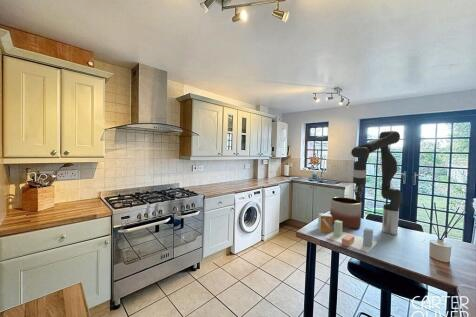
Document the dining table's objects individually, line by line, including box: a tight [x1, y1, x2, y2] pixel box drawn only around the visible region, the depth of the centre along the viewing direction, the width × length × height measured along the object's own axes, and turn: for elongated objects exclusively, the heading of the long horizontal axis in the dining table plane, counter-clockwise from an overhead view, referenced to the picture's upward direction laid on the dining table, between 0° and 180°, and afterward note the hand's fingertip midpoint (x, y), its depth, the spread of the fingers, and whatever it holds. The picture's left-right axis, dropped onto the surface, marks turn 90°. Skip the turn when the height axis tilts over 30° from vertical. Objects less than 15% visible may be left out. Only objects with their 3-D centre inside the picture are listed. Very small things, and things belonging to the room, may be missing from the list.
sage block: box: [333, 220, 343, 237], centre depth 140 cm, size 4×4×10 cm
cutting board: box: [324, 230, 378, 253], centre depth 134 cm, size 20×26×1 cm
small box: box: [317, 212, 333, 233], centre depth 148 cm, size 8×6×13 cm
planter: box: [329, 196, 362, 230], centre depth 164 cm, size 22×22×20 cm
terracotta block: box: [341, 233, 354, 248], centre depth 129 cm, size 4×4×10 cm
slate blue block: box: [362, 227, 374, 247], centre depth 127 cm, size 4×4×10 cm
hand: (358, 201), depth 138 cm, fingers closed
